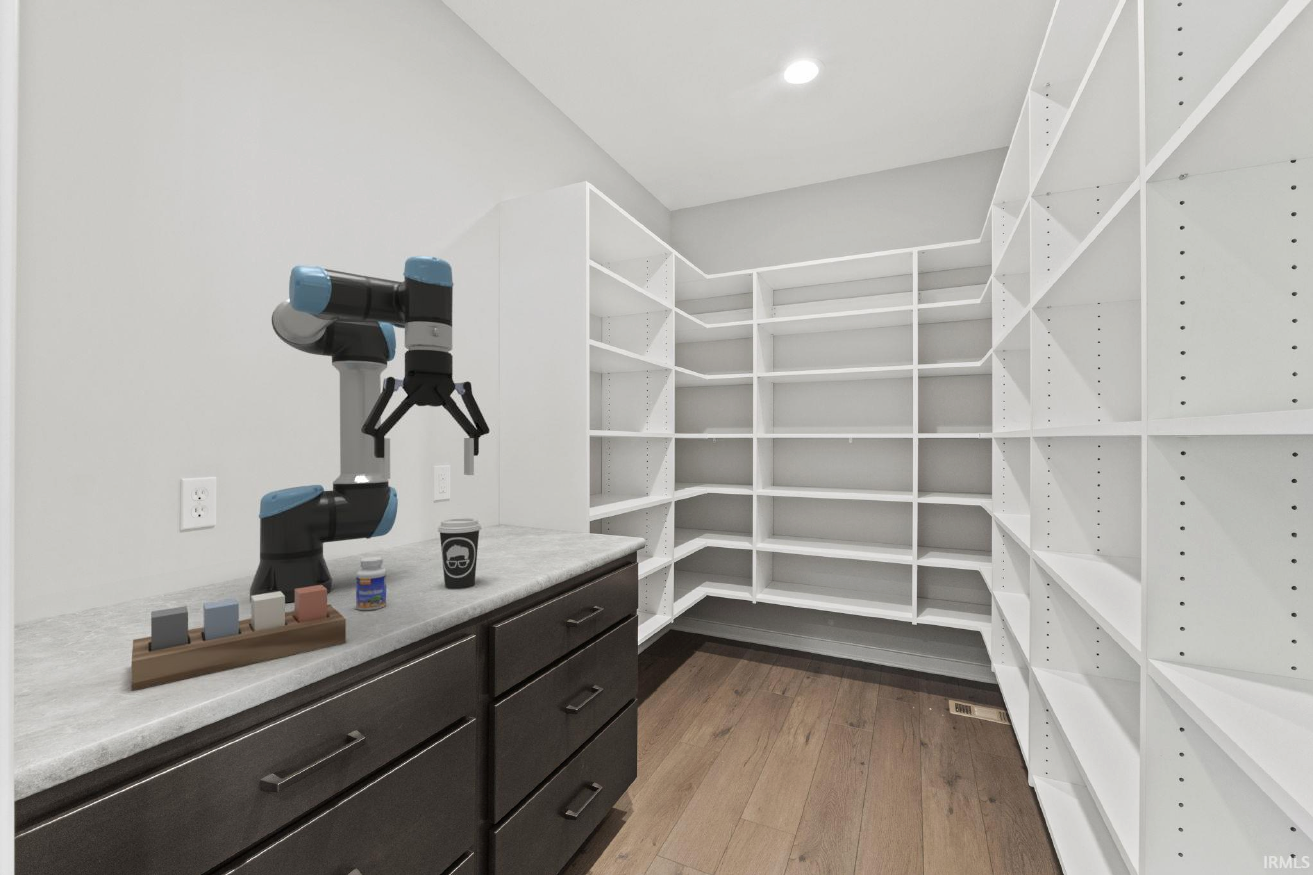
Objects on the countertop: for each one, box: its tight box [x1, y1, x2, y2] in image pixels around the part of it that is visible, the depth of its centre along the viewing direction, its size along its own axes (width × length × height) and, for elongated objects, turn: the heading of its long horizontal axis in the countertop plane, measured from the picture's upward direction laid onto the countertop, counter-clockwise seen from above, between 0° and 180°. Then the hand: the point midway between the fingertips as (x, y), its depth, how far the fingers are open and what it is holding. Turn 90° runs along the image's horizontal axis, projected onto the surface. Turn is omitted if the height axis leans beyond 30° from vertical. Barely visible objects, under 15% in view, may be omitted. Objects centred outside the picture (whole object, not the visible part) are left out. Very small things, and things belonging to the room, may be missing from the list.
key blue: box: [203, 598, 240, 641], centre depth 86 cm, size 4×4×5 cm
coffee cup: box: [437, 517, 482, 590], centre depth 129 cm, size 10×10×15 cm
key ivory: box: [250, 591, 286, 631], centre depth 90 cm, size 4×4×5 cm
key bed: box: [131, 603, 347, 692], centre depth 88 cm, size 11×26×4 cm, turn 132°
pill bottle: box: [355, 556, 387, 611], centre depth 113 cm, size 5×5×10 cm
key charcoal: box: [150, 605, 189, 651], centre depth 82 cm, size 4×4×5 cm
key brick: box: [294, 585, 328, 623], centre depth 94 cm, size 4×4×5 cm
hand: (429, 476), depth 94 cm, fingers open, 13 cm apart
